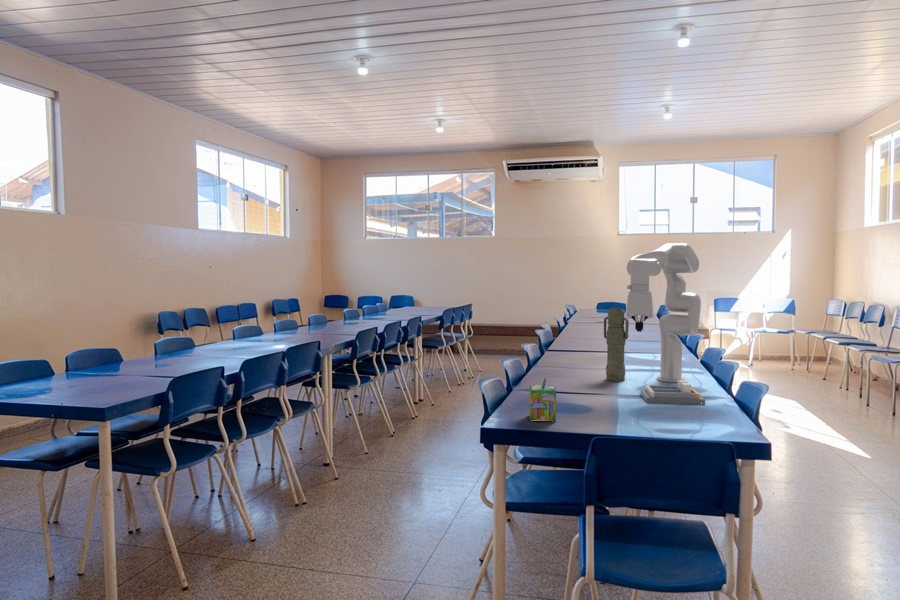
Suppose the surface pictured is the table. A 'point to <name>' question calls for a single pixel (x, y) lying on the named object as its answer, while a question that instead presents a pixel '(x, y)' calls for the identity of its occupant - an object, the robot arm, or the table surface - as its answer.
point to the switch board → (670, 395)
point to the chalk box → (542, 402)
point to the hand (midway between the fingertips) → (639, 331)
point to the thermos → (615, 343)
